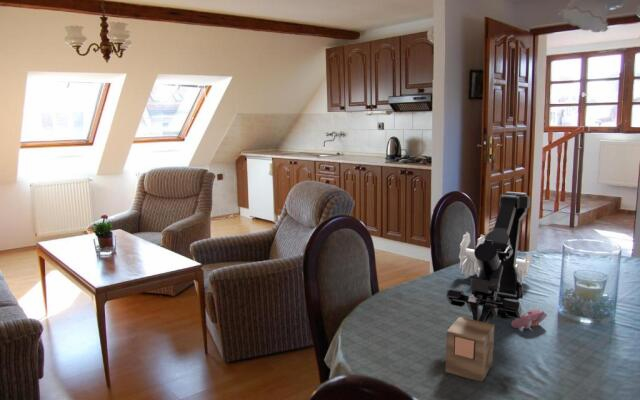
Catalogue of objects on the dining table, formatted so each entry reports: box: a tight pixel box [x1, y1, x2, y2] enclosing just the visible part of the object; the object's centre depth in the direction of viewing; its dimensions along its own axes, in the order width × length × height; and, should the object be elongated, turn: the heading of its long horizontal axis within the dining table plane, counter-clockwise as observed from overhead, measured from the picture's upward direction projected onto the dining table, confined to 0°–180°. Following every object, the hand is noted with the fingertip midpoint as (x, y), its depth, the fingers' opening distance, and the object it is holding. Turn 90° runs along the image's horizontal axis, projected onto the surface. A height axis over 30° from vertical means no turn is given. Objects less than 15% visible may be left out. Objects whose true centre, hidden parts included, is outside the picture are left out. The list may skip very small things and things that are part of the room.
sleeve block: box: [444, 316, 495, 383], centre depth 125 cm, size 10×9×11 cm
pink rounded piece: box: [511, 308, 548, 330], centre depth 148 cm, size 10×5×7 cm, turn 119°
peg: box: [455, 336, 476, 359], centre depth 124 cm, size 10×4×4 cm, turn 147°
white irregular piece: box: [458, 231, 533, 284], centre depth 188 cm, size 18×18×25 cm
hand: (476, 332), depth 129 cm, fingers closed, pressing on peg
